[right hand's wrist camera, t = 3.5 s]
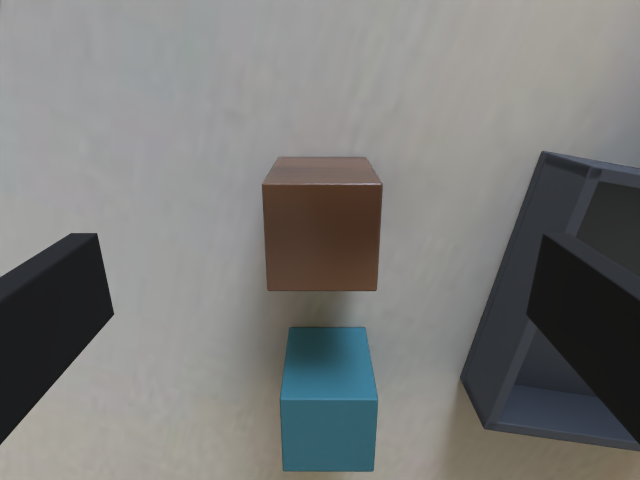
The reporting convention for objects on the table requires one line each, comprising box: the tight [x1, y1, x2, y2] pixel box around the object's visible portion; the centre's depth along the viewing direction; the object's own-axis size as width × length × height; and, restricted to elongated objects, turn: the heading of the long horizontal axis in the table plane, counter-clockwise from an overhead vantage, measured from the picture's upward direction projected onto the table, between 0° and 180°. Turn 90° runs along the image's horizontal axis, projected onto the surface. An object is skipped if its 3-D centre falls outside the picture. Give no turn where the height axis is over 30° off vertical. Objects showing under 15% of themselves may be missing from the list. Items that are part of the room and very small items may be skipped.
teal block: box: [280, 327, 378, 472], centre depth 22 cm, size 4×4×6 cm
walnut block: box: [262, 157, 383, 291], centre depth 19 cm, size 4×4×6 cm
